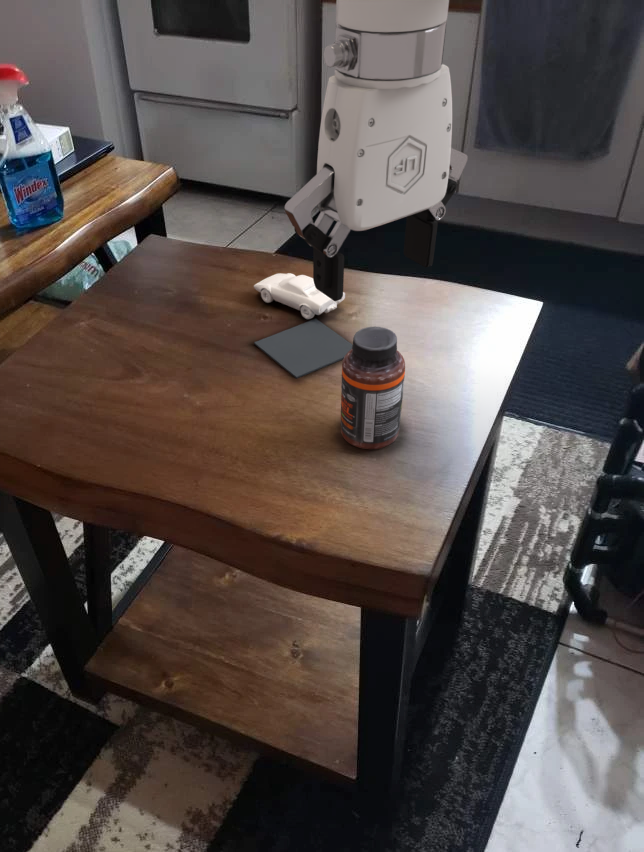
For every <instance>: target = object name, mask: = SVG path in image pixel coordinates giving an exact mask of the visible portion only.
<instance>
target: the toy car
mask: <svg viewBox="0 0 644 852" xmlns="http://www.w3.org/2000/svg"><path fill="white" fill-rule="evenodd" d="M253 288H254V290H255V291H257V292H259V293H260V297H261V299H262V300H263V302H265V303H266V304H269V303H272V302H273V301H275V302H278V303H281V304H282V305H285V306H288V307H290V308H293V309H295V310H297V311H300V314H301V317H303V318H304V319H306V320H312V319H314V317H315V315H316V316H320V315H322V314H323V313H325V314H327V313H328V314H329V313H330V312H331V311H335V310H336V309H337V308H338V305H339V304H341V303H342V302H343V301H344V300H345V299H346V292H345V291H343V297H342V299H340V300H338V301H333V300H332V299H331V298H329V297H328V296H326V295H325V294H323V293H322V292H320V291H319V290H317V289H316V287H315V284H314V281H313V277H311V276H308V275H305V274H299V275H295V274H294V273H290V272H288V273H280V272H279V273H275V274H273V275H270V276H268V277H266V278H264V279H262V280H260V281H258V282H257V283H255V284H253Z"/></svg>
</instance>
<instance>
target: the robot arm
mask: <svg viewBox="0 0 644 852" xmlns="http://www.w3.org/2000/svg"><path fill="white" fill-rule="evenodd" d="M335 5H336V6H335V31H334V33H335V37H334V42H333V43H332V44H327V45H326V46H325V47H324V49H323V61H324V63H325V65H326V67H327V68H334V75H331V76H329V77H328V81H327V84H326V90H325V94H324V95H325V96H324V101H323V106H322V112H321V113H322V114H321V119H320V127H319V134H318V135H319V136H318V144H317V145H318V146H317V149H318V150H317V161H316V174H315V175H314V176H313V177H312V178H311V179H310V180H309V181H307V183H306V184H304V186H303V187H302V188H301V189H299V190H298V191H297V192H296V193H295V194H294V195H293V196H292V197H291V198H290V199H288V200H287V201H286V203H285V205H284V212H285V215H286V216H287V218H288V220H289V221H290V223H291V225H292V226H293V228H294V232H295V233H296V235H297V236H298V237H300V238H301V240H303V241H304V242H306V244H307V245H309V246H310V247H312V250H313V252H312V253H313V255H312V259H313V260H312V278H313V281H314V284H315V287H316V289H317V290H319V291H320V292H322V293H323V294H325V295H326V296H328V297H329V298H331V299H332V300H333V301H338V300H340V299H342V297H343V292H344V281H345V280H344V278H345V277H344V276H345V255H344V254H343V253H342V252H340V249H341V248H342V246H343V244H344V242H345V240H346V239H347V237H348V236H349V234H350V233H351V231H354V232H362V231H367V230H370V229H373V228H376V227H380V226H383V225H386V224H389V223H392V222H394V221H395V222H396V221H398V220H401V219H404V218H406V221H405V222H406V223H405V231H404V232H405V233H404V242H403V243H404V244H403V255H404V257H406V258H408V259H409V260H411V261H413V262H414V263H416V264H418V265H420V266H421V267H424V268H428V267H431V266H433V264H434V256H435V249H436V241H437V232H438V223H439V222H438V221H440V220H442V219H443V218H444V217H445V214H446V212H447V208H446V206H447V204H448V203H449V201H450V200H451V198H452V197H453V196H454V194H455V193H456V191H457V189H458V181H459V180H460V178H461V176H462V173H463V172H464V169H465V168H466V165H467V164H468V163H467V162H468V159H469V157H468V155H467V154H466V153H464V152H462V151H459V150H457V149H455V148H454V147H452V140H453V139H452V137H453V136H452V135H453V95H452V94H453V93H452V81H451V80H452V79H451V73H450V67H449V66H447V65H446V64H444V63H443V60H444V59H443V58H444V51H445V41H446V33H447V23H448V15H449V6H450V0H336V2H335ZM316 207H317V208H318V211H319V212H320V213H319V214H318V216H317V218H316V219H315V221H314V219H313V217H312V213H313V210H314V209H315V208H316ZM334 221H335V222H336V223H335V224H334V226H333V228H332V230H331V232H330V233H329V235H327V233H328V231H329V230H330V228H331V227H332V225H333V223H334Z"/></svg>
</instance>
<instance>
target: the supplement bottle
mask: <svg viewBox="0 0 644 852" xmlns="http://www.w3.org/2000/svg"><path fill="white" fill-rule="evenodd" d="M352 339H353V341H352V345H353V346H352V349H351V350H350V351H349V352H348V353H347V354H346V355H345V357H344V359H342V364H341V389H340V390H341V392H340V393H341V394H340V397H341V398H340V432H341V435H342V437H343V439H344V440H345V441H346V442H347V443H349V444H350V445H352V446H354V447H356V448H359V449H365V450H378V449H383V448H385V447H388V446H389V445H392V444H393V443H394V442H395V441H396V439H397V437H398V436H399V433H400V428H401V418H402V406H403V397H404V386H405V385H404V384H405V377H406V361H405V358H404V356H403V355H402V354H401V352H400V351H399V350H398V336H397V334H396V333H395V332H394V331H393V330H391V329H389V328H386V327H383V326H367V327H364V328H361V329H359V330H357V331H356V332H355V333H354V335H353V338H352Z"/></svg>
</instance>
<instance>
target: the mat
mask: <svg viewBox="0 0 644 852" xmlns="http://www.w3.org/2000/svg"><path fill="white" fill-rule="evenodd" d="M253 344H254V346H256V347H257V348H258V349H259V350H261V351H262V352H263V353H264V354H266V355H267V356H268V357H269V358H270V359H271V360H273V361H274V362H275V363H277V364H278V365H279V366H280V367H281V368H283V369H284V370H285V371H286V372H288V373H289V375H291V376H293V377H294V379H299V378H301V377H303V376H304V377H305V376H306V375H309V374H311V373H313V372H315V371H318V370H320V369H323V368H327V367H328V366H330V365H333V364H335V363H337V362H339V361H343V359H344V357H345V355H346V354H347V353H348V352H349V351H350V350H351V349H352V346H353V343H351V342H349V341H348V340H346V338H344V337H343V336H341V335H340V334H338V333H337V332H336V331H334V330H333V329H332V328H330V327H328V326H327V325H325V323H323V322H321V321H320V320H319V319H318V318H312V319H310V320H308V321H306V322H303V323H301V324H298V325H296V326H295V325H294V326H293V327H290V328H288V329H285V330H283V331H280V332H277V333H275V334H272V335H270V336H267V337H264V338H262V339H259V340H256V341H254V342H253Z"/></svg>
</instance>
